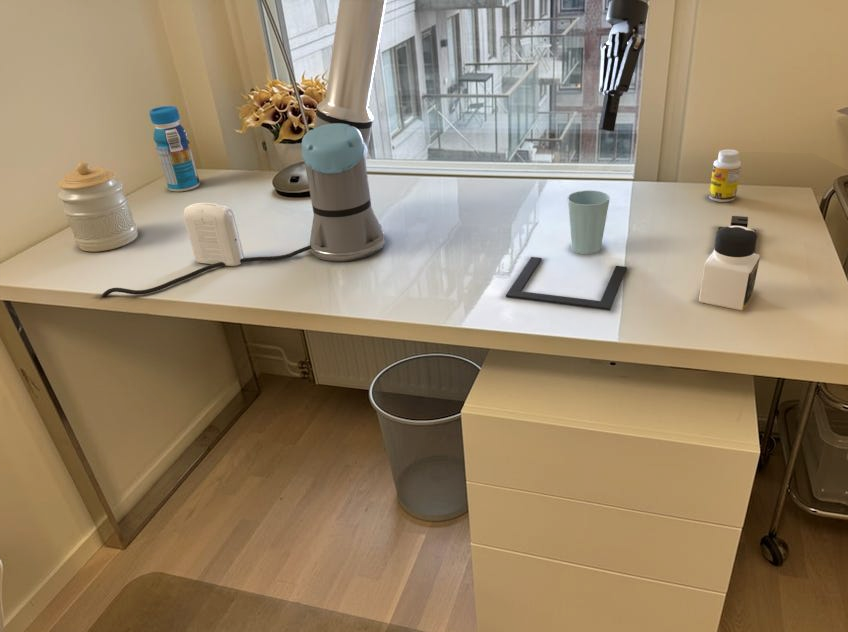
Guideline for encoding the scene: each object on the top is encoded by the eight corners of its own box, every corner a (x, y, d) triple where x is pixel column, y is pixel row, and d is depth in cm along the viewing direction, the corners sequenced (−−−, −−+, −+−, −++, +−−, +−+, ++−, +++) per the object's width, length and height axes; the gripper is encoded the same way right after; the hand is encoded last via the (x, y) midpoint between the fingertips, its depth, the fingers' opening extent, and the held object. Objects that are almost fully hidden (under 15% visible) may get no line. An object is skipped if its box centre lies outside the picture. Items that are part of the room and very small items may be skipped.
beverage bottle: (162, 192, 182) (138, 113, 171) (177, 181, 188) (155, 105, 178) (192, 192, 180) (170, 112, 169) (206, 181, 187) (186, 104, 176)
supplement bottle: (703, 195, 155) (710, 149, 149) (727, 192, 156) (734, 146, 150) (716, 204, 150) (723, 157, 145) (740, 201, 151) (748, 154, 145)
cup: (601, 239, 139) (604, 188, 134) (610, 255, 133) (614, 202, 127) (563, 242, 139) (564, 192, 133) (571, 258, 133) (572, 206, 127)
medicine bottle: (743, 311, 112) (756, 242, 106) (698, 302, 116) (708, 235, 109) (753, 292, 117) (766, 225, 111) (709, 284, 120) (719, 218, 114)
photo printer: (248, 258, 143) (234, 200, 136) (237, 268, 139) (221, 208, 132) (205, 255, 145) (189, 198, 139) (193, 264, 142) (176, 206, 135)
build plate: (755, 258, 128) (759, 234, 126) (713, 254, 131) (716, 231, 128) (755, 231, 138) (760, 208, 135) (716, 228, 140) (720, 206, 137)
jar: (149, 237, 156) (124, 159, 146) (92, 258, 148) (62, 176, 139) (123, 225, 164) (98, 149, 154) (68, 243, 156) (37, 165, 146)
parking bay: (531, 259, 134) (531, 256, 133) (626, 269, 127) (627, 266, 127) (505, 297, 121) (505, 294, 121) (609, 310, 115) (610, 308, 115)
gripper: (665, -1, 129) (639, 133, 135) (629, 10, 141) (606, 132, 147) (629, -9, 126) (605, 127, 133) (596, 3, 138) (574, 127, 145)
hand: (606, 130), depth 140 cm, fingers closed
